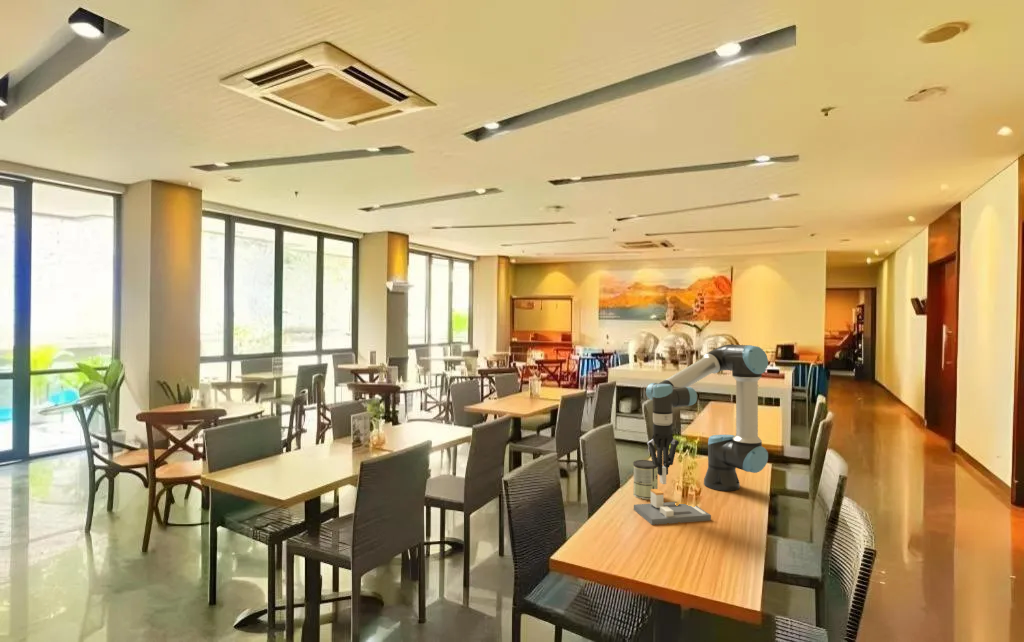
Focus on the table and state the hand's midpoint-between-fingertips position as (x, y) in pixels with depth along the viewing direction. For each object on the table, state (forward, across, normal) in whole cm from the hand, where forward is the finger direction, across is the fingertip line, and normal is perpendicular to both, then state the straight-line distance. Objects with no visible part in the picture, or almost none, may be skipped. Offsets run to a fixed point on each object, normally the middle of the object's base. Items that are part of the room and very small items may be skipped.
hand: (662, 483), depth 213 cm
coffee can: (+12, +1, +19) cm, 22 cm away
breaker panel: (+11, +1, -4) cm, 12 cm away
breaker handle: (+9, -3, 0) cm, 9 cm away
